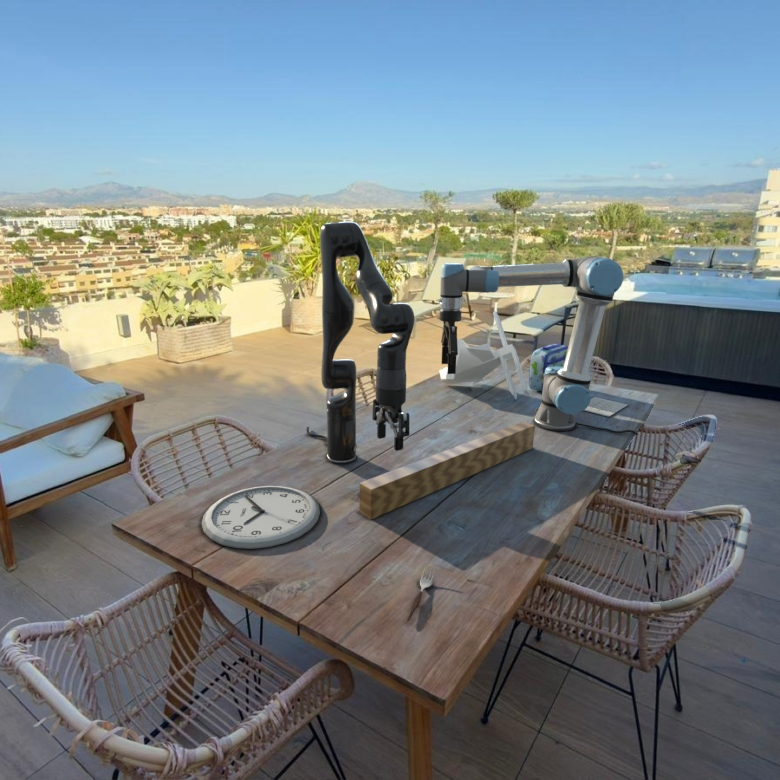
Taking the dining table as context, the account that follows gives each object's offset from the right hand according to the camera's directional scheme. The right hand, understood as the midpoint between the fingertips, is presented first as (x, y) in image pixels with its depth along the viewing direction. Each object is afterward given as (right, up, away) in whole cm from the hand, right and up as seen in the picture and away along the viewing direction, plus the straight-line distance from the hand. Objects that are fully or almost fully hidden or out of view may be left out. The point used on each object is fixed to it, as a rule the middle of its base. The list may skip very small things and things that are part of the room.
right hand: (448, 368), depth 187 cm
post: (0, -34, -26) cm, 43 cm away
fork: (-15, -51, -79) cm, 95 cm away
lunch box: (+56, -7, +64) cm, 85 cm away
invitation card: (+71, -15, +39) cm, 82 cm away
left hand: (-21, -22, -52) cm, 60 cm away
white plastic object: (+21, -9, +56) cm, 61 cm away
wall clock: (-54, -41, -50) cm, 84 cm away
